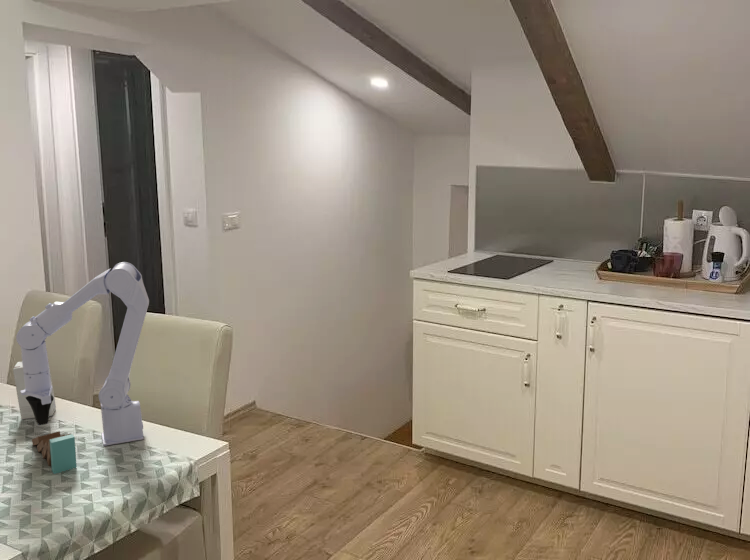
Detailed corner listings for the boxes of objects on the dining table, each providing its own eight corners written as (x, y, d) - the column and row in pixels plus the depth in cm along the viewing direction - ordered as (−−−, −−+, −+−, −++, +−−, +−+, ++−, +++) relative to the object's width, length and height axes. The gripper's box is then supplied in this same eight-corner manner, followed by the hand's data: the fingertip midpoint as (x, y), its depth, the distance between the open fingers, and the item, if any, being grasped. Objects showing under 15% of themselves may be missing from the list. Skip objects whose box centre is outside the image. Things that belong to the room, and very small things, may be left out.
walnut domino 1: (31, 439, 189) (37, 436, 182) (53, 434, 191) (59, 431, 185) (33, 445, 188) (39, 443, 182) (54, 440, 191) (61, 437, 185)
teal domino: (51, 470, 174) (49, 439, 172) (74, 464, 177) (72, 433, 175) (53, 474, 173) (51, 442, 170) (76, 467, 176) (74, 437, 173)
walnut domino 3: (36, 446, 185) (42, 439, 179) (58, 440, 188) (64, 434, 181) (38, 452, 184) (43, 446, 178) (59, 447, 187) (66, 440, 181)
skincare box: (56, 409, 212) (50, 357, 209) (52, 417, 206) (46, 364, 203) (23, 412, 210) (17, 360, 207) (18, 420, 204) (12, 367, 201)
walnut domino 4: (46, 460, 178) (48, 439, 173) (69, 454, 181) (71, 433, 176) (48, 466, 177) (50, 444, 172) (71, 460, 180) (73, 438, 175)
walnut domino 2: (41, 452, 181) (46, 440, 175) (63, 447, 184) (68, 435, 178) (43, 459, 181) (47, 447, 175) (65, 453, 184) (70, 441, 178)
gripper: (11, 366, 188) (18, 418, 191) (25, 382, 177) (32, 437, 180) (42, 361, 192) (47, 412, 195) (57, 375, 181) (63, 429, 184)
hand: (42, 423), depth 188 cm, fingers closed
